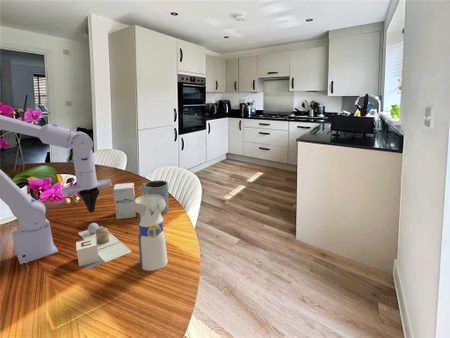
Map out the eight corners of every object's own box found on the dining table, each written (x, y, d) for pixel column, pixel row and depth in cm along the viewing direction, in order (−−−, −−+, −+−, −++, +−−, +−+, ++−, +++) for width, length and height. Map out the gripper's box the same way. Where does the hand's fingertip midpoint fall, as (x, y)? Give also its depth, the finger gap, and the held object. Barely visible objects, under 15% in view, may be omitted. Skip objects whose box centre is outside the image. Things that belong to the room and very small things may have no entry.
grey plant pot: (157, 218, 106) (155, 189, 103) (139, 212, 111) (136, 185, 108) (174, 209, 115) (173, 182, 112) (157, 204, 120) (155, 178, 117)
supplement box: (116, 220, 105) (112, 189, 102) (118, 213, 112) (114, 183, 108) (136, 218, 107) (133, 187, 103) (136, 210, 114) (133, 182, 110)
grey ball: (90, 236, 92) (88, 226, 91) (86, 232, 94) (85, 223, 93) (101, 232, 94) (99, 223, 93) (97, 229, 96) (96, 220, 96)
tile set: (105, 263, 77) (105, 262, 77) (78, 233, 94) (77, 232, 94) (132, 252, 82) (132, 251, 82) (101, 226, 100) (101, 225, 100)
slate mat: (86, 271, 73) (86, 269, 73) (77, 259, 79) (77, 258, 79) (105, 263, 77) (105, 262, 77) (95, 252, 82) (95, 251, 82)
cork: (99, 245, 86) (97, 234, 85) (95, 241, 88) (93, 230, 87) (110, 241, 88) (109, 230, 87) (106, 237, 91) (105, 226, 90)
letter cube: (79, 266, 75) (76, 249, 74) (78, 257, 79) (75, 241, 78) (98, 261, 77) (96, 245, 76) (97, 252, 81) (95, 237, 80)
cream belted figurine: (174, 266, 75) (168, 179, 69) (143, 276, 71) (134, 185, 65) (165, 252, 82) (159, 172, 76) (136, 260, 78) (127, 177, 72)
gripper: (104, 165, 93) (108, 202, 96) (55, 173, 83) (62, 214, 86) (112, 168, 88) (117, 207, 91) (62, 177, 78) (69, 221, 81)
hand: (91, 211), depth 88 cm, fingers closed
